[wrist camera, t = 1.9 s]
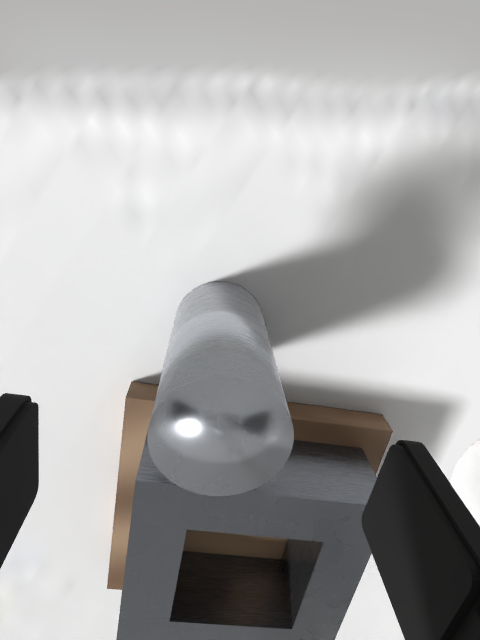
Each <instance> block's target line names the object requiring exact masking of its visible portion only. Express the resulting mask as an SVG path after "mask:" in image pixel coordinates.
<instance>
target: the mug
mask: <svg viewBox="0 0 480 640" xmlns="http://www.w3.org/2000/svg"><path fill="white" fill-rule="evenodd" d="M451 485H452V487H453V488H454V490H455V491H456V492H457V494H458V495H459V497H460V498H461V500H462V501H463V503H464V504H465V506H466V507H467V508H468V510H469V511H470V513H471V514H472V516H473V517H474V519H475V520H476V522H477V523H478V524H479V526H480V439H479V440H477V441H476V442H475V443H474V444H473V445H472V446H470V447H469V448H468V449H467V450H466V452H465V453H464V454H463V455H462V456H461V458H460V459H459V461H458V463H457V465H456V466H455V468H454V471H453V475H452V478H451Z"/></svg>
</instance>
